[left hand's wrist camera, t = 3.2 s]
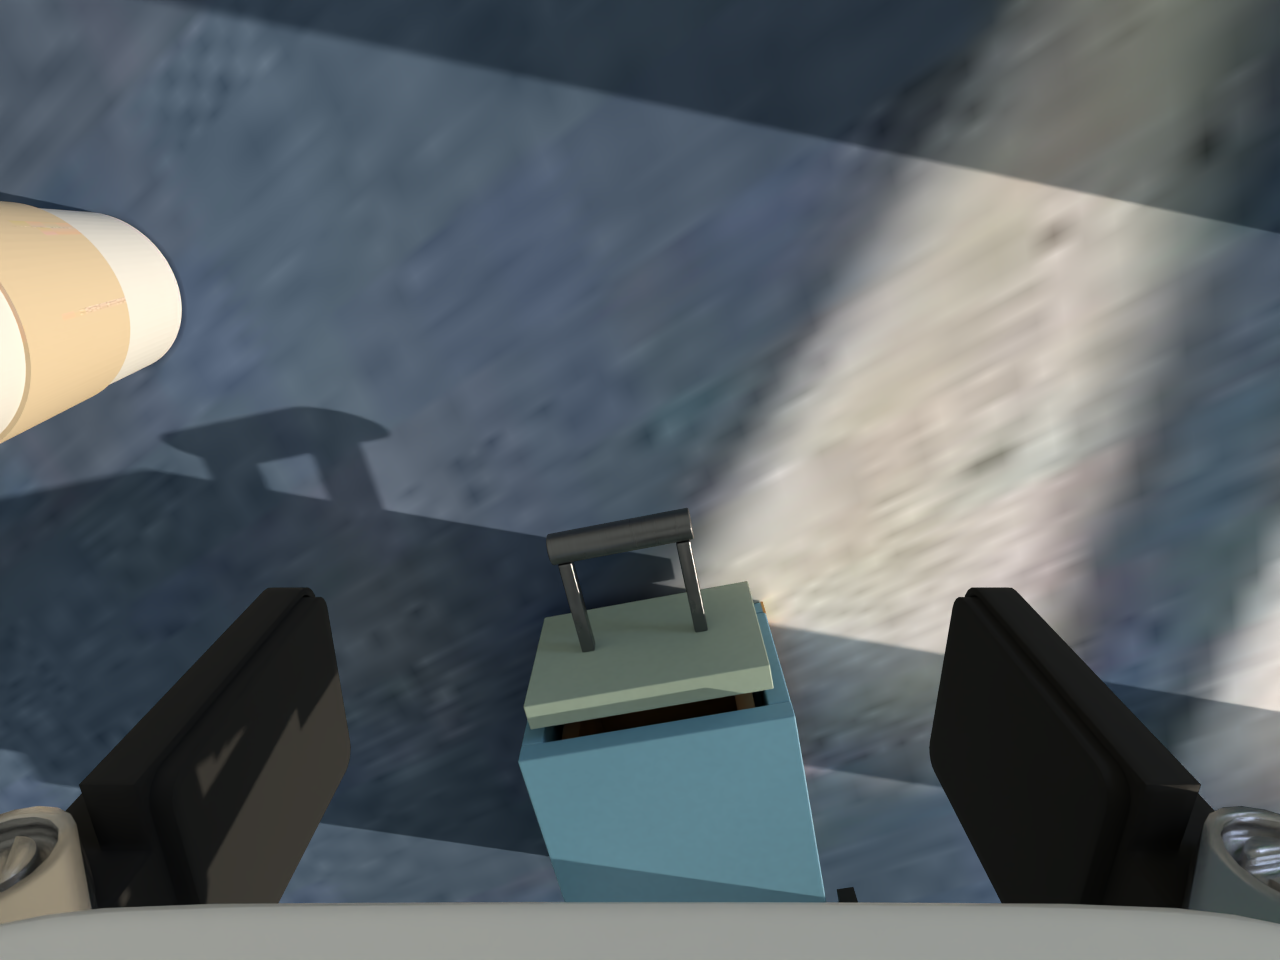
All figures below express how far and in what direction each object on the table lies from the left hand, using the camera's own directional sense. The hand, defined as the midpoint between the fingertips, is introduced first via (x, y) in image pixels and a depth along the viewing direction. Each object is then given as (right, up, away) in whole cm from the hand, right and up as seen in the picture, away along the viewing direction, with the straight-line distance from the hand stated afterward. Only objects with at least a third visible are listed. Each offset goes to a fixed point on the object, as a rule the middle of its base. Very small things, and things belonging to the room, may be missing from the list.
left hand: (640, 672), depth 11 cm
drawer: (+1, -7, +28) cm, 29 cm away
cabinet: (+2, -12, +30) cm, 33 cm away
